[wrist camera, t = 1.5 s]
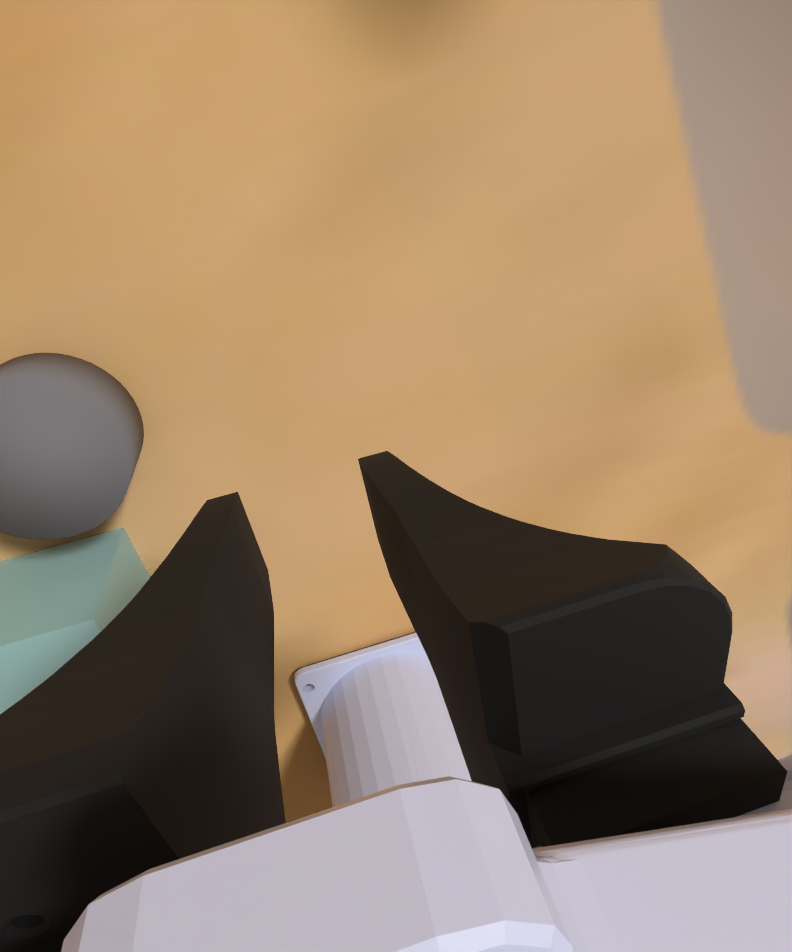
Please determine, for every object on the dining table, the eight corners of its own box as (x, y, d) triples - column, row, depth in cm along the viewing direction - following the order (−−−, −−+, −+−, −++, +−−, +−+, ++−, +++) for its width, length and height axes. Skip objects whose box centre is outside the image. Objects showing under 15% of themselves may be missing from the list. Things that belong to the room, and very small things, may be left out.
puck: (166, 469, 21) (155, 513, 18) (23, 507, 20) (-9, 558, 18) (105, 334, 18) (83, 364, 16) (-60, 374, 18) (-112, 411, 15)
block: (169, 614, 24) (153, 715, 19) (57, 647, 23) (15, 757, 19) (123, 526, 21) (93, 619, 17) (-2, 561, 21) (-66, 665, 17)
